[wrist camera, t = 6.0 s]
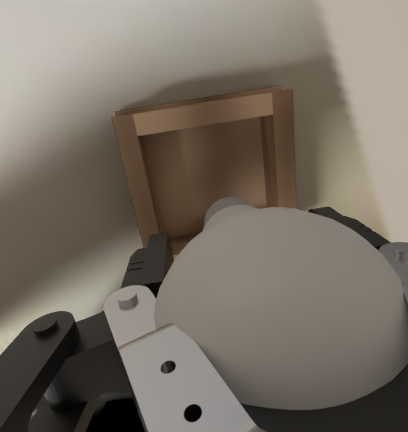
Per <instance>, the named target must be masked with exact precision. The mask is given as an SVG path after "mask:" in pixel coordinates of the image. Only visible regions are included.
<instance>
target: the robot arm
mask: <svg viewBox="0 0 408 432" xmlns="http://www.w3.org/2000/svg"><path fill="white" fill-rule="evenodd" d="M309 212H310V213H314V214H317V215H321V216H324V217H327V218H331V219H333V220H335V221H337V222H339V223H341V224H343V225H345V226H346V227H348V228H350V229H352V230H354V231H355V232H356V233H358V234H359V235H360V236H362V237H363V238H364V239H366V240H367V241H368V242H369V243H370V244H371V245H372V246H374V247H375V248H376V249H377V250H378V251H379V252H380V253H381V254H383V256H384V257H385V258H386V260H387V261H388V262H389V263H390V265H391V266H392V267H393V269H394V270H395V271H396V273H397V274H398V276H399V277H400V279H401V280H402V282H403V283H402V282H401V284H402V288H403V293H404V298H405V302H406V307H407V312H408V243H404V242H403V243H402V242H394V243H391V242H389V241H388V240H386V239H385V238H383V237H382V236H380V235H379V234H377V233H376V232H374V231H373V232H372V230H371V229H370V228H368V227H365V225H364V224H362V223H361V222H359V221H358V220H356V219H352V218H349V217H346V216H342V215H341V214H339V213H338V212H336V211H335V210H333V209H332V208H331V207H322V208H316V209H310V210H309ZM173 262H174V257H173V252H172V247H171V242H170V237H169V234H168V232H166V233H160V234H154V235H150V236H149V240H148V244H147V248H142V249H138V250H137V251H136V252H135V253H134V254H133V255H132V256H131V257H130V260H129V264H128V267H127V272H126V273H125V276H124V279H123V283H122V286H121V289H119V290H117V291H115V292H114V293H112V294H111V295H110V296H109V297H108V298H107V299H106V300H105V302H104V305H103V309H104V311H103V312H101V313H99V314H96V315H94V316H91V317H89V318H86V319H83V320H81V321H78V322H75V319H74V317H73V315H72V314H71V313H69V312H66V311H58V312H53V313H49V314H46V315H44V316H42V317H40V318H38V319H36V320H34V321H33V322H32V323H30V324H29V325H28V326H26V327H25V328H24V329H23V330H22V332H21V333H20V334H19V335H18V336H17V337H16V338H15V339H14V341H13V342H12V343H11V344H10V345H9V346H8V347H7V348H6V350H5V351H4V352H3V353H2V354H1V355H0V432H86V429H87V427H88V425H89V423H90V420H91V418H92V416H93V413H94V411H95V409H96V407H97V404H98V402H99V400H100V396H101V395H102V394H104V393H106V392H108V391H110V390H112V389H115V388H117V387H119V386H121V385H123V384H125V383H127V382H128V385H129V388H130V391H131V394H132V397H133V400H134V403H135V405H136V408H137V411H138V414H139V417H140V420H141V423H142V426H143V428H144V431H145V432H408V364H407V365H406V366H405V367H404V368H403V369H402V370H401V371H400V373H399V374H398V375H397V376H396V377H395V378H394V379H393V380H391V381H390V382H388V383H387V384H385V385H384V386H382V387H380V388H378V389H377V390H375V391H373V392H371V393H369V394H368V395H366V396H363V397H361V398H359V399H356V400H354V401H351V402H348V403H345V404H342V405H339V406H334V407H328V408H323V409H313V410H286V409H274V408H266V407H259V406H253V405H246V404H242V403H240V402H239V401H238V400H237V398H236V397H235V396H234V394H233V393H232V392H231V390H230V389H229V387H228V386H227V385H226V383H225V382H224V381H223V379H222V378H221V376H220V375H219V374H218V372H217V371H216V369H215V368H214V367H213V365H212V364H211V363H210V361H209V360H208V358H207V357H206V356H205V354H204V353H203V352H202V350H201V349H200V347H199V346H198V345H197V343H196V342H195V340H193V339H192V338H190V337H189V336H188V335H186V334H185V333H184V332H182V331H181V330H180V329H178V328H177V326H176V325H175V324H173V323H168V324H166V325H164V326H161V327H159V328H157V329H156V325H155V320H154V311H155V303H156V298H157V295H158V292H159V288H160V286H161V284H162V282H163V280H164V279H165V277H166V275H167V273H168V271H169V269H170V268H171V266H172V264H173ZM43 395H44V396H45V399H44V401H43V402H42V404H41V405H40V407H39V409H38V410H37V412H36V413H35V415H34V417H33V418H32V420H31V421H30V418H31V415H32V413H33V411H34V409H35V408H36V406H37V404H38V403H39V401H40V400H41V398H42V396H43ZM29 421H30V423H29Z"/></svg>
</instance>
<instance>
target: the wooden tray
mask: <svg viewBox="0 0 408 432" xmlns="http://www.w3.org/2000/svg"><path fill="white" fill-rule="evenodd" d="M115 114H116V117H113V118H112V122H113V126H114V130H115V134H116V138H117V142H118V146H119V150H120V154H121V158H122V162H123V166H124V170H125V175H126V179H127V183H128V187H129V191H130V195H131V199H132V203H133V207H134V211H135V215H136V219H137V223H138V227H139V231H140V235H141V239H142V243H143V247H144V248H147V244H148V240H149V236H150V235H154V234H160V233H166V232H168V234H169V237H170V242H171V247H172V252H173V257H174V260H175V259H176V257H177V256H178V255H179V253H180V252H181V251H182V250H183V249H184V248H185V246H186V245H187V244H188V243H189V242H190V241H191V240H192V239H193V238H195V237H196V236H197V235H199V234H200V233H201V232H202V231H203V228H204V220H205V215H206V213H207V211H208V209H209V208H210V207H211V205H212V204H213V203H215V202H216V201H218V200H220V199H222V198H225V197H239V198H242V199H244V200H246V201H247V202H248V203H250V204H251V205H252V206H253V207H255V208H257V209H260V208H269V207H282V208H296V209H297V207H296V178H295V149H294V120H293V92H292V89H291V90H282V91H280V86H275V87H268V88H262V89H256V90H249V91H243V92H236V93H230V94H224V95H217V96H211V97H205V98H198V99H192V100H186V101H179V102H173V103H166V104H160V105H154V106H147V107H141V108H135V109H128V110H122V111H116V112H115Z"/></svg>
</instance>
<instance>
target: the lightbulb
mask: <svg viewBox="0 0 408 432" xmlns="http://www.w3.org/2000/svg"><path fill="white" fill-rule="evenodd" d="M401 282H402V280H401V279H400V277H399V276H398V274H397V273H396V271H395V270H394V269H393V267H392V266H391V265H390V263H389V262H388V261H387V260H386V258H385V257H384V256H383V254H381V253H380V252H379V251H378V250H377V249H376V248H375V247H374V246H372V245H371V244H370V243H369V242H368V241H367V240H366V239H364V238H363V237H362V236H360V235H359V234H358V233H356V232H355V231H354V230H352V229H350V228H348V227H346V226H345V225H343V224H341V223H339V222H337V221H335V220H333V219H331V218H327V217H324V216H321V215H317V214H314V213H310V212H307V211H303V210H300V209H296V208H282V207H269V208H260V209H257V208H255V207H253V206H252V205H251V204H250V203H248V202H247V201H246V200H244V199H242V198H239V197H225V198H222V199H220V200H218V201H216V202H215V203H213V204H212V205H211V207H210V208H209V209H208V211H207V213H206V215H205V220H204V228H203V231H202V232H201V233H200V234H199V235H197V236H196V237H195V238H193V239H192V240H191V241H190V242H189V243H188V244H187V245H186V246H185V248H184V249H183V250H182V251H181V252H180V253H179V255H178V256H177V257H176V259H175V260H174V262H173V264H172V266H171V268H170V269H169V271H168V273H167V275H166V277H165V279H164V280H163V282H162V284H161V286H160V288H159V292H158V295H157V298H156V303H155V311H154V320H155V325H156V329H157V328H159V327H161V326H164V325H166V324H168V323H173V324H175V325H176V326H177V328H178V329H180V330H181V331H182V332H184V333H185V334H186V335H188V336H189V337H190V338H192V339H193V340H195V342H196V343H197V345H198V346H199V347H200V349H201V350H202V352H203V353H204V354H205V356H206V357H207V358H208V360H209V361H210V363H211V364H212V365H213V367H214V368H215V369H216V371H217V372H218V374H219V375H220V376H221V378H222V379H223V381H224V382H225V383H226V385H227V386H228V387H229V389H230V390H231V392H232V393H233V394H234V396H235V397H236V398H237V400H238V401H239V402H240V403H242V404H246V405H253V406H259V407H266V408H274V409H286V410H313V409H323V408H328V407H334V406H339V405H342V404H345V403H348V402H351V401H354V400H356V399H359V398H361V397H363V396H366V395H368V394H369V393H371V392H373V391H375V390H377V389H378V388H380V387H382V386H384V385H385V384H387V383H388V382H390V381H391V380H393V379H394V378H395V377H396V376H397V375H398V374H399V373H400V371H401V370H402V369H403V368H404V367H405V366H406V365H407V364H408V312H407V307H406V302H405V298H404V293H403V288H402V284H401ZM402 283H403V282H402Z"/></svg>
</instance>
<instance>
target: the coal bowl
mask: <svg viewBox="0 0 408 432" xmlns="http://www.w3.org/2000/svg"><path fill="white" fill-rule="evenodd" d="M44 399H45V396H44V395H43V396H42V398H41V400H40V401H39V403H38V404H37V406H36V408H35V409H34V411H33V413H32V415H31V418H30V421H31V420H32V418H33V417H34V415H35V413H36V412H37V410H38V409H39V407H40V405H41V404H42V402H43V401H44ZM30 421H29V423H30ZM86 432H145V431H144V428H143V426H142V423H141V420H140V417H139V414H138V411H137V408H136V405H135V403H134V400H133V397H132V394H131V391H130V388H129V385H128V382H127V383H125V384H123V385H121V386H119V387H117V388H115V389H112V390H110V391H108V392H106V393H104V394H102V395H101V396H100V400H99V402H98V404H97V407H96V409H95V411H94V413H93V416H92V418H91V420H90V423H89V425H88V427H87V429H86Z"/></svg>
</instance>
